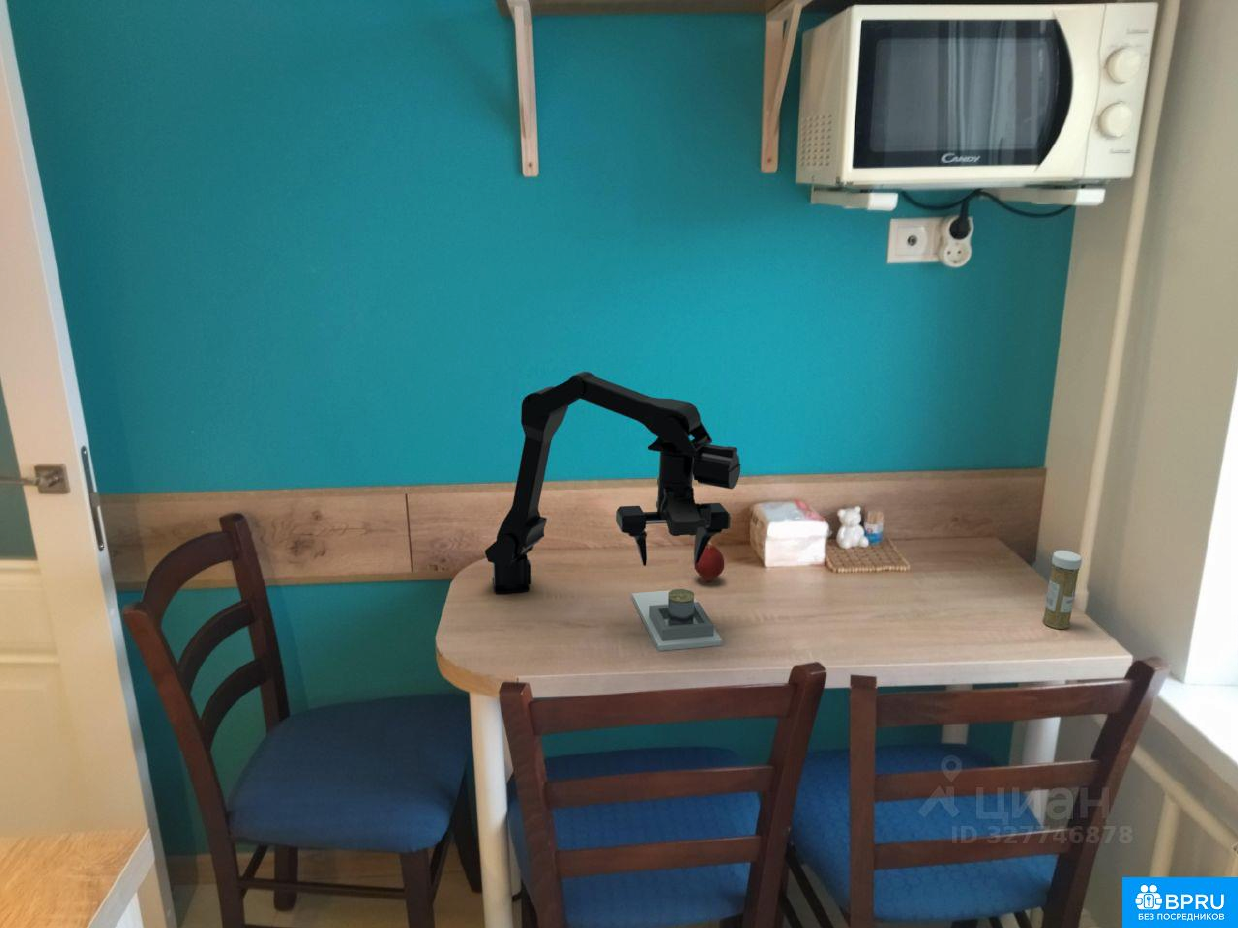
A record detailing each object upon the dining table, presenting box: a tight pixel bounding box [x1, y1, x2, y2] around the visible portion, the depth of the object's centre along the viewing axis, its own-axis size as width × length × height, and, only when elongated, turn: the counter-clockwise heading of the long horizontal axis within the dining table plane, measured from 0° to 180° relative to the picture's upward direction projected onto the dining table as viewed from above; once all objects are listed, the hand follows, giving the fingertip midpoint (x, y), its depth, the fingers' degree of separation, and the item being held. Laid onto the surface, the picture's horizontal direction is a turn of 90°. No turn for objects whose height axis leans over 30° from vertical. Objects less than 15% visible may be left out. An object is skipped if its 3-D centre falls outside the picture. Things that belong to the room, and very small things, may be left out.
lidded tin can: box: [668, 588, 695, 626], centre depth 158 cm, size 4×4×6 cm
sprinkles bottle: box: [1042, 550, 1083, 630], centre depth 163 cm, size 5×5×13 cm
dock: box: [631, 588, 723, 652], centre depth 163 cm, size 11×20×3 cm, turn 12°
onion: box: [693, 542, 725, 582], centre depth 178 cm, size 6×6×8 cm
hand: (670, 563), depth 159 cm, fingers open, 9 cm apart
